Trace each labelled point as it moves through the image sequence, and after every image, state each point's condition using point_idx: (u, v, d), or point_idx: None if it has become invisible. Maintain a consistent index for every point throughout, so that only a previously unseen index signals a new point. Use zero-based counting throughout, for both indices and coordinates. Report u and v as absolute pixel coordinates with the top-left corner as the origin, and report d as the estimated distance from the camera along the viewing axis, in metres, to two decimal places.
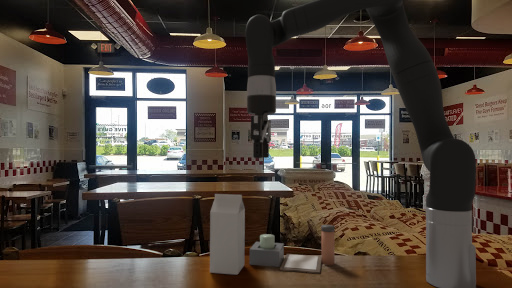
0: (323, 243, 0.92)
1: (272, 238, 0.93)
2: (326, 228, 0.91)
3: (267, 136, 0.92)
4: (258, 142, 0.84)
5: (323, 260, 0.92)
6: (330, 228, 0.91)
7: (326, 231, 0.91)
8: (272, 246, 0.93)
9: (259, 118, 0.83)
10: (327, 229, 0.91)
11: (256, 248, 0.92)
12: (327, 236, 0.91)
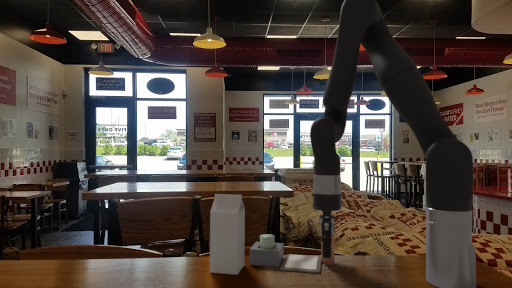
0: None
1: (272, 238, 0.93)
2: None
3: None
4: (328, 244, 0.90)
5: (323, 260, 0.92)
6: None
7: None
8: (272, 246, 0.93)
9: (330, 227, 0.87)
10: None
11: (256, 248, 0.92)
12: (327, 236, 0.91)
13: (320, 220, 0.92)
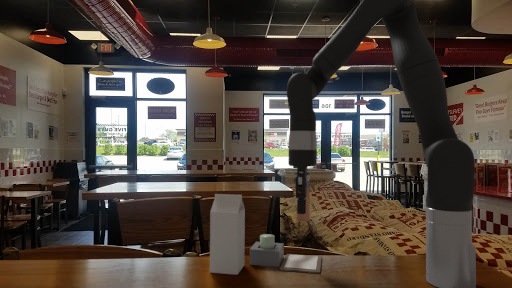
0: None
1: (272, 238, 0.93)
2: None
3: None
4: (302, 199, 0.90)
5: (298, 217, 0.92)
6: None
7: None
8: (272, 246, 0.93)
9: (303, 181, 0.86)
10: None
11: (256, 248, 0.92)
12: (302, 192, 0.91)
13: (295, 176, 0.91)
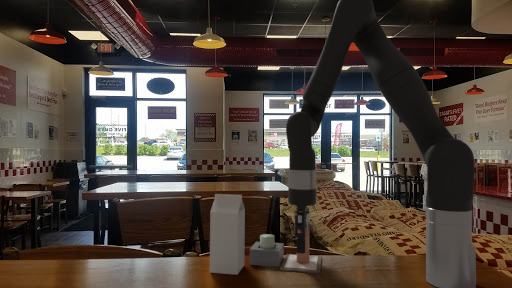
0: None
1: (272, 238, 0.93)
2: None
3: None
4: (301, 239, 0.88)
5: (298, 258, 0.91)
6: None
7: None
8: (272, 246, 0.93)
9: (303, 219, 0.86)
10: None
11: (256, 248, 0.92)
12: None
13: (295, 215, 0.91)
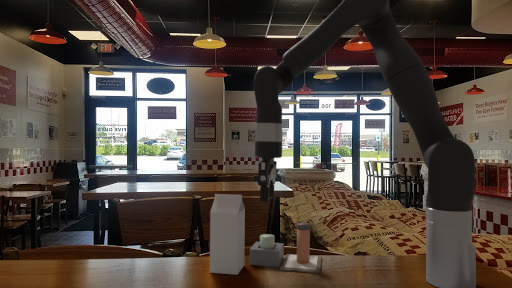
0: (298, 241, 0.91)
1: (272, 238, 0.93)
2: (301, 226, 0.91)
3: (273, 178, 0.98)
4: (265, 187, 0.90)
5: (298, 258, 0.91)
6: (305, 226, 0.91)
7: (301, 229, 0.91)
8: (272, 246, 0.93)
9: (266, 165, 0.88)
10: (302, 227, 0.91)
11: (256, 248, 0.92)
12: (302, 234, 0.91)
13: None
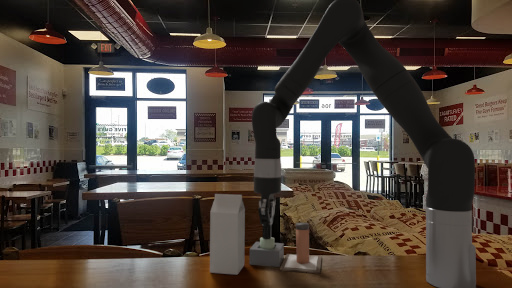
0: (298, 241, 0.91)
1: (272, 241, 0.93)
2: (300, 226, 0.91)
3: None
4: (267, 225, 0.93)
5: (298, 258, 0.91)
6: (304, 226, 0.91)
7: (300, 229, 0.91)
8: None
9: (266, 212, 0.89)
10: (301, 227, 0.91)
11: (256, 248, 0.92)
12: (301, 234, 0.91)
13: (260, 204, 0.93)
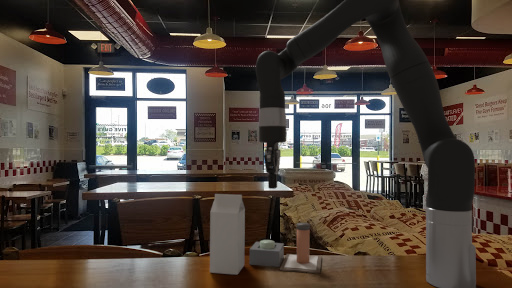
0: (298, 241, 0.91)
1: (272, 244, 0.93)
2: (301, 226, 0.91)
3: None
4: (273, 174, 0.93)
5: (298, 258, 0.91)
6: (305, 226, 0.91)
7: (301, 229, 0.91)
8: None
9: (272, 159, 0.89)
10: (302, 227, 0.91)
11: (256, 248, 0.92)
12: (302, 234, 0.91)
13: (265, 153, 0.94)
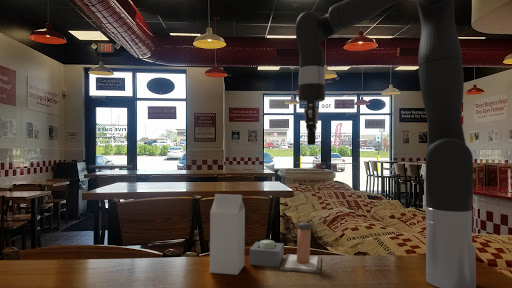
0: (299, 241, 0.91)
1: (272, 244, 0.93)
2: (303, 225, 0.91)
3: (315, 122, 0.99)
4: (312, 131, 0.97)
5: (298, 258, 0.91)
6: (307, 226, 0.91)
7: (303, 229, 0.91)
8: None
9: (313, 114, 0.93)
10: (303, 227, 0.91)
11: (256, 248, 0.92)
12: (303, 233, 0.91)
13: (305, 110, 0.97)
